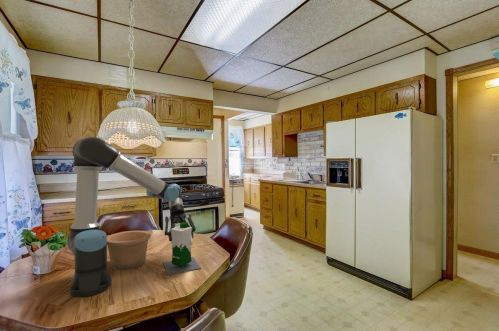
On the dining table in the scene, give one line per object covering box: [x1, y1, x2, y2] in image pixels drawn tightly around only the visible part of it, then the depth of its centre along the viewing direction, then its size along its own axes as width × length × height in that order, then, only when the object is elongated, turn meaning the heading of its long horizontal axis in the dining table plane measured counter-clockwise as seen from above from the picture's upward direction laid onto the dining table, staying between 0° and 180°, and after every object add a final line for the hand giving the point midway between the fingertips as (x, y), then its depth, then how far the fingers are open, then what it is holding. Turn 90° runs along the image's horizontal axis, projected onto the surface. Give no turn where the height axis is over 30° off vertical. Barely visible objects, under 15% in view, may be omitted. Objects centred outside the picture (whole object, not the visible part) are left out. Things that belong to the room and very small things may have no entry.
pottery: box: [106, 230, 151, 270], centre depth 134 cm, size 22×22×14 cm
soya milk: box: [171, 221, 192, 267], centre depth 129 cm, size 9×9×20 cm
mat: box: [162, 256, 202, 276], centre depth 130 cm, size 16×16×1 cm
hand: (182, 245), depth 127 cm, fingers closed on soya milk, 8 cm apart
